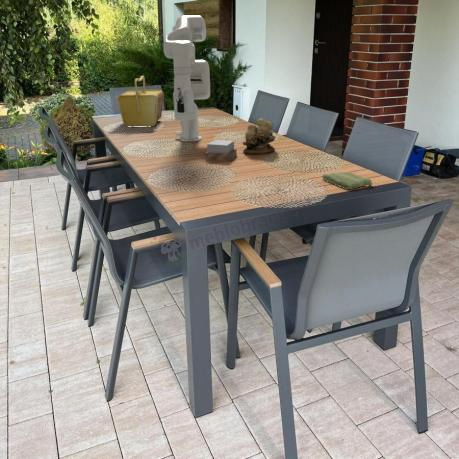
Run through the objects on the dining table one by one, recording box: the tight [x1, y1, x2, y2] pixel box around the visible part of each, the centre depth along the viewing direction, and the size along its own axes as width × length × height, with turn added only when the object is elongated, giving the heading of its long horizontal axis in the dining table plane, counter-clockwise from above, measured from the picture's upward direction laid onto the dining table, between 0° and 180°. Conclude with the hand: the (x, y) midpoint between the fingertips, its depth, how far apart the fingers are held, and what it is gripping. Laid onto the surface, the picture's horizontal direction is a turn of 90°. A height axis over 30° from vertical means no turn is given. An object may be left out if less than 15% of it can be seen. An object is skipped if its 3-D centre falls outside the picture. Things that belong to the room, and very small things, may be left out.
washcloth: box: [322, 171, 373, 190], centre depth 190 cm, size 13×18×3 cm
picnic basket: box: [116, 75, 165, 127], centre depth 310 cm, size 29×26×30 cm
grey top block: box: [206, 139, 235, 154], centre depth 228 cm, size 10×10×4 cm
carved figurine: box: [242, 117, 276, 156], centre depth 237 cm, size 18×12×17 cm, turn 117°
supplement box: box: [172, 91, 195, 121], centre depth 220 cm, size 7×7×13 cm
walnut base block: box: [204, 148, 238, 162], centre depth 229 cm, size 12×12×4 cm
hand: (184, 110), depth 221 cm, fingers closed on supplement box, 7 cm apart
